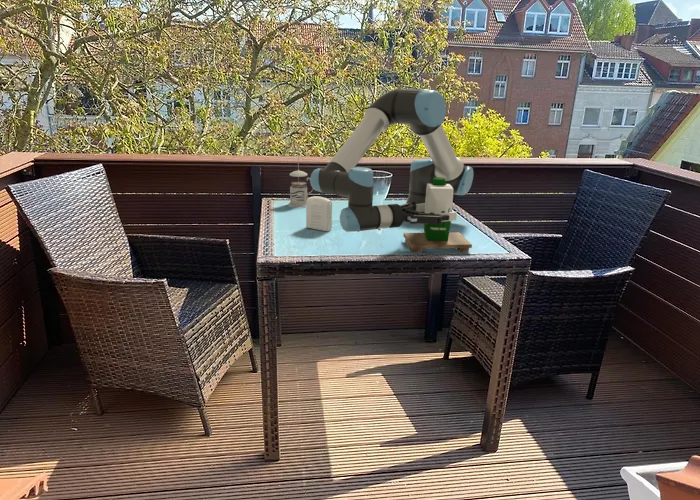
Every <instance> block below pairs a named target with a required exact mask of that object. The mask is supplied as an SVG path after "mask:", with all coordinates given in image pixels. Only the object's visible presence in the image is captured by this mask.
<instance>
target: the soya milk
mask: <svg viewBox="0 0 700 500" xmlns="http://www.w3.org/2000/svg"><path fill="white" fill-rule="evenodd" d="M453 201H454V194H453V188H452V186H451V185H450V184H445V178H439V177H437V178H433V183H431V184H429V183H427V188H426V199H425V213H428V214H438V213H447V212H453V205H454V203H453ZM451 224H452V221H445V222H442V224H440V225H438V224H423V230H424V232H423V233H424V235H425V237H426V239H427V241H448V237H449V232H450V230H451Z"/></svg>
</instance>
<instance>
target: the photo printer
mask: <svg viewBox="0 0 700 500" xmlns="http://www.w3.org/2000/svg"><path fill="white" fill-rule="evenodd" d="M305 209H306V210H305V213H306V214H305V215H306V216H305V218H306V219H305V223H306V224H305V226H306V228H309V229H314V230H317V231H318V230H319V231H321V232H323V231H324V232H331V231H332V228H333V227H332V225H333V202H332V200H330V199H329V198H326V197H324V196H315V195H313V196H311V197H309V196H308V199H307V202H306V206H305Z"/></svg>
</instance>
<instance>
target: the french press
mask: <svg viewBox="0 0 700 500" xmlns="http://www.w3.org/2000/svg"><path fill="white" fill-rule="evenodd" d="M296 152H297V153H298V154H297V166H298V168H297V170H294V171H292V172H290V173H289V176H290V177H296V178H297V177H298V178H297V179H298V181H291V182H290V187H289V193H290V194H289V196H290V199H289V202H288V205H287V206H290V207H293V208H300V207H301V208H304V207H305V208H306V202H307V199H308V198H309V196H308V195H310V194H311V193H312V192H313V190H314V189H313V188H312V189H311V190H310V192H308V186H307V184H308V183H307V182H308V180H310V177H307V176H308V173H307V172H305V171H302V170H300V167H299V165H300V163H299V161H300V160H299V159H300V158H299V157H300V155H299V153H300V152H301V149H300V148H296ZM302 177H306V181H307V182H305V181H300V178H302Z"/></svg>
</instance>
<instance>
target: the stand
mask: <svg viewBox="0 0 700 500" xmlns="http://www.w3.org/2000/svg"><path fill="white" fill-rule="evenodd" d="M402 235H403V238H404V242H405V243H406V246H407V247H408V248H409V250H410V251H411V253H412V254H413V253H414V254H416V253H417V254H421V253H423V252H422V250H423V249H456V250H457V251H458V252H459V253H469V252H470V251H469V250H470V249H472V248H473V244H472V243H471V242H470V241H469V240H468V239H467V238H466V237H464V236H463V234H461V233H460V231H459V232H458V231H456V232H453V231H451V232H450V231H449V237H448V241H427V239H426V237H425V235H424V232H403V234H402Z"/></svg>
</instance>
